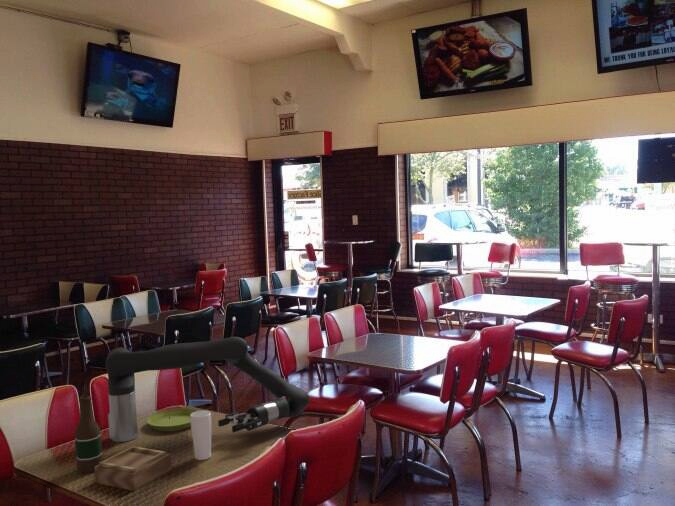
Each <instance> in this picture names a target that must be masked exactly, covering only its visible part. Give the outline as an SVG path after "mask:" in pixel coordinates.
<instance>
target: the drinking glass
mask: <svg viewBox="0 0 675 506" xmlns="http://www.w3.org/2000/svg"><path fill="white" fill-rule="evenodd" d="M190 421H191V427H190V430H191V437H192V443H193V450H194V458H195V460H197V461H207V460H208V459H211V457H212V432H213V431H212V428H213V427H212V425H213V424H212V412H211V411H210V410H197V411H196V412H193V413H192V414H191V415H190Z"/></svg>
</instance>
